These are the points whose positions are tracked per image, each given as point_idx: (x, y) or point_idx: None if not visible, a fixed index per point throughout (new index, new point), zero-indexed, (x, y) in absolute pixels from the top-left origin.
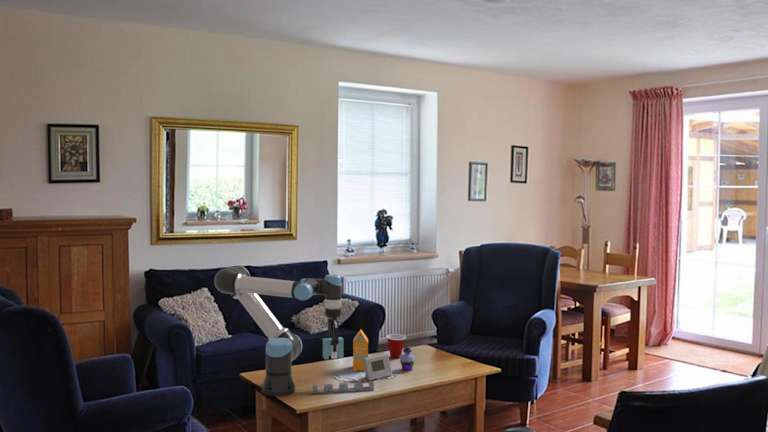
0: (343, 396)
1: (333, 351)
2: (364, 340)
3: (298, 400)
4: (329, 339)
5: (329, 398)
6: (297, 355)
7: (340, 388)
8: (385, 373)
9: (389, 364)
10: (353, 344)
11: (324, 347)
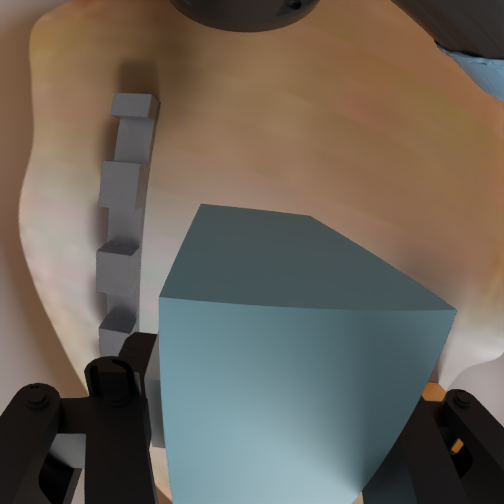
0: (57, 236)
1: (133, 335)
2: None
3: (78, 27)
4: (227, 439)
5: (48, 165)
6: (415, 15)
7: (103, 246)
8: None
9: None
10: (454, 449)
11: (198, 234)
